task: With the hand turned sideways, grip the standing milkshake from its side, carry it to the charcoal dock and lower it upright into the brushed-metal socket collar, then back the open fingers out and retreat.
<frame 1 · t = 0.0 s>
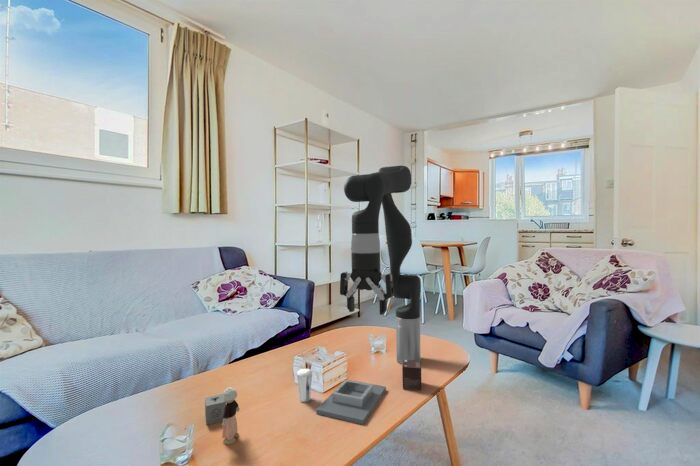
hand: (366, 312, 87), 29 cm above the table, tool pointing down, fingers open, 8 cm apart
milkshake: (305, 399, 101), on the table
dock: (353, 401, 99), on the table
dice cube: (215, 418, 91), on the table
grandmother figurine: (230, 440, 81), on the table
box: (412, 386, 108), on the table
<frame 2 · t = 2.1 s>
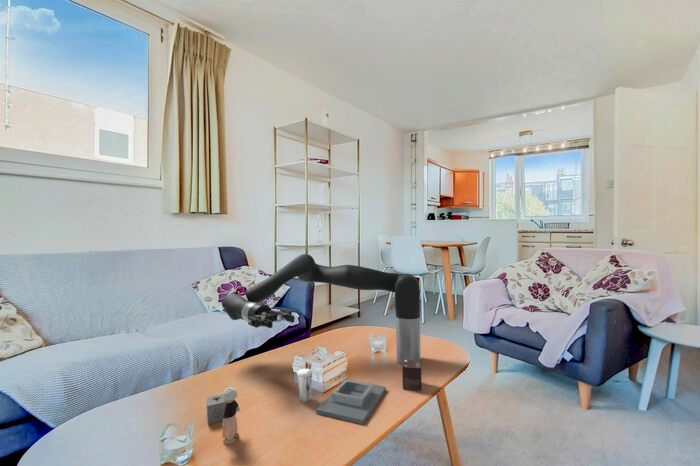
hand: (282, 321, 108), 21 cm above the table, tool horizontal, fingers open, 8 cm apart
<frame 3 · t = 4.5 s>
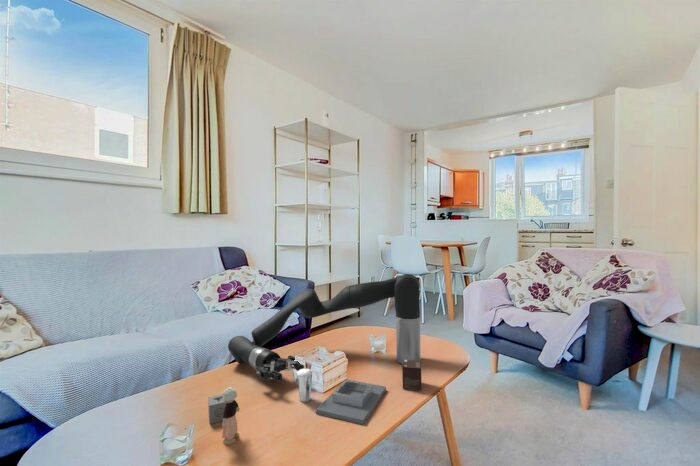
hand: (292, 373, 105), 6 cm above the table, tool horizontal, fingers open, 8 cm apart
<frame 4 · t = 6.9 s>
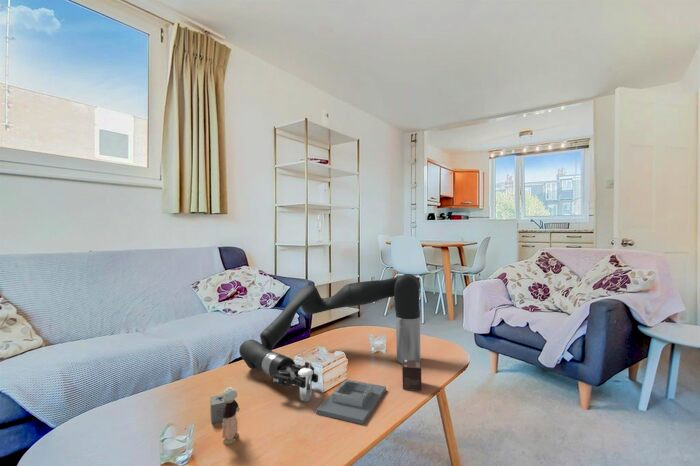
hand: (310, 381, 99), 6 cm above the table, tool horizontal, fingers closed on milkshake, 4 cm apart
milkshake: (305, 399, 101), on the table, touching gripper
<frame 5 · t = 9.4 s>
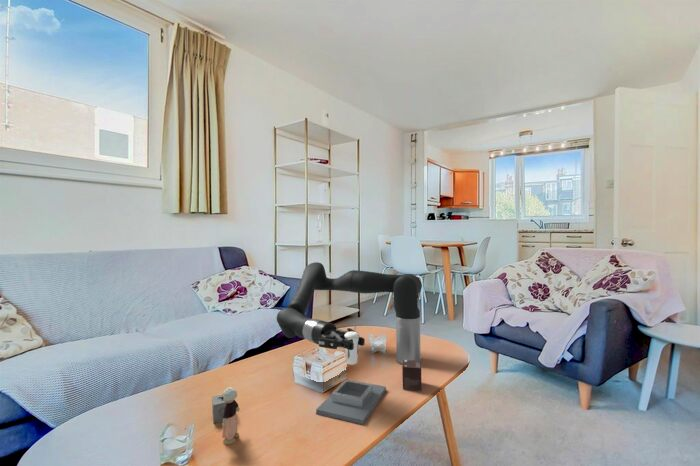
hand: (358, 344, 97), 18 cm above the table, tool horizontal, fingers closed on milkshake, 4 cm apart
milkshake: (351, 362, 99), point 11 cm above the table, touching gripper
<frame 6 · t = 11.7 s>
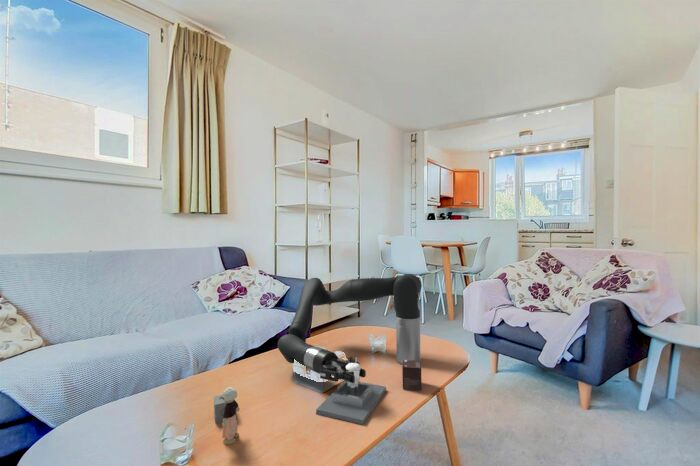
hand: (359, 376, 97), 8 cm above the table, tool horizontal, fingers closed on milkshake, 4 cm apart
milkshake: (352, 394, 99), point 2 cm above the table, touching gripper
when the fingers open (8 cm above the table, at t = 12.2 s): milkshake moves 3 cm, resting on dock.
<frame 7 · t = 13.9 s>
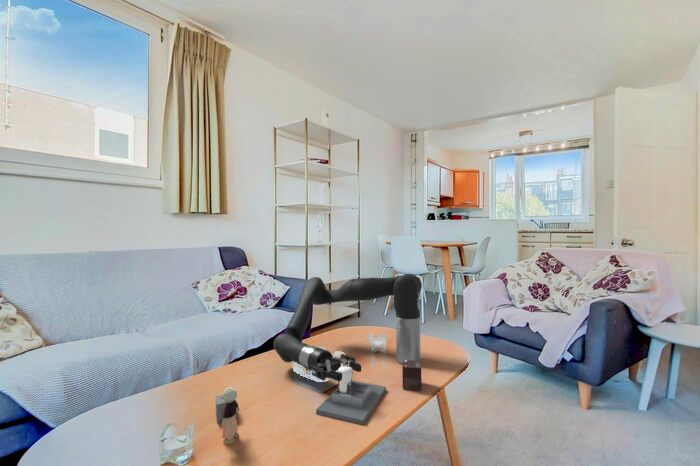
hand: (351, 372, 99), 8 cm above the table, tool horizontal, fingers open, 8 cm apart
milkshake: (344, 398, 98), point 1 cm above the table, touching dock, gripper
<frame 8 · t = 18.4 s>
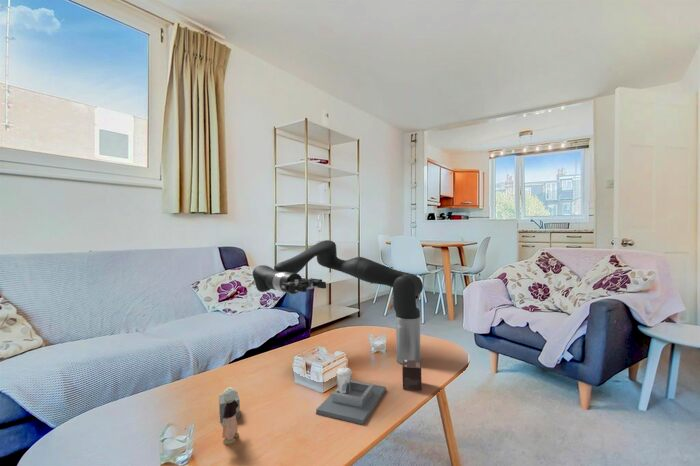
hand: (315, 287, 112), 32 cm above the table, tool horizontal, fingers open, 8 cm apart
milkshake: (344, 399, 98), point 1 cm above the table, touching dock
at the end: milkshake 2.6 cm off-centre on the dock, point 1.0 cm above the dock's base; milkshake tilted 0°; the gripper is holding nothing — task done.
